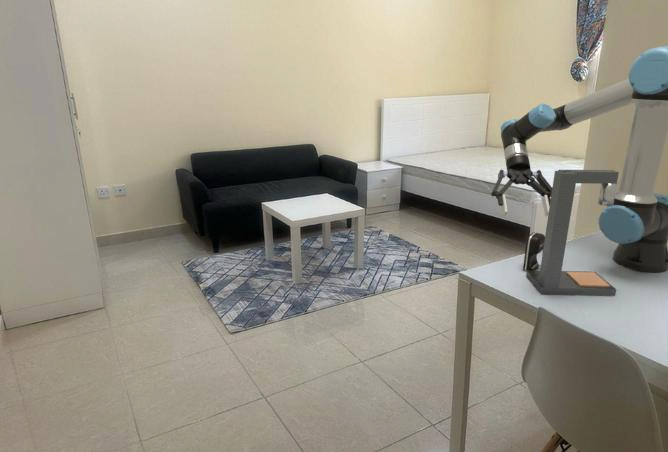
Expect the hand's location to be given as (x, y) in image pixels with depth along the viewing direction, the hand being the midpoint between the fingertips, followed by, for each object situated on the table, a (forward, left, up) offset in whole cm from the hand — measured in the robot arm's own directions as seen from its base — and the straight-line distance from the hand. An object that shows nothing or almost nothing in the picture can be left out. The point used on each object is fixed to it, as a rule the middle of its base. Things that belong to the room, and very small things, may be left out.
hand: (526, 214), depth 149 cm
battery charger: (0, +11, -15) cm, 18 cm away
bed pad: (-11, +23, -13) cm, 28 cm away
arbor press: (-6, +23, -15) cm, 28 cm away
